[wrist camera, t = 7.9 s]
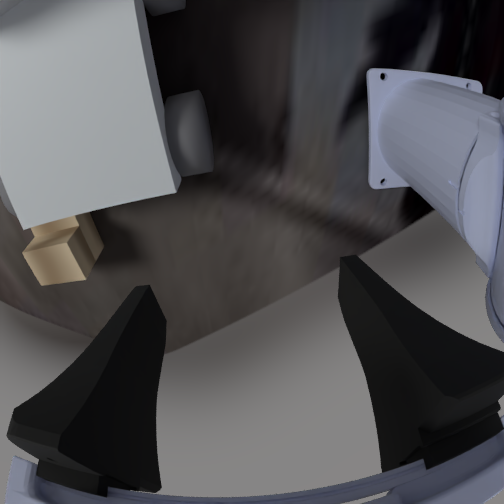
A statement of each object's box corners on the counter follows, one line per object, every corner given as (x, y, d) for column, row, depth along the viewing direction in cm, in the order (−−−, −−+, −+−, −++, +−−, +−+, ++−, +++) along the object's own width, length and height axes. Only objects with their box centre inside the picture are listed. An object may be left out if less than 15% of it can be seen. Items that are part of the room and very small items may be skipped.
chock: (80, 186, 18) (53, 214, 15) (105, 245, 21) (86, 279, 18) (37, 200, 18) (9, 228, 15) (62, 253, 21) (41, 285, 18)
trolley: (179, -46, 10) (123, -129, 2) (215, 156, 18) (197, 257, 9) (3, 36, 10) (-108, 60, 2) (47, 198, 18) (-32, 290, 10)
